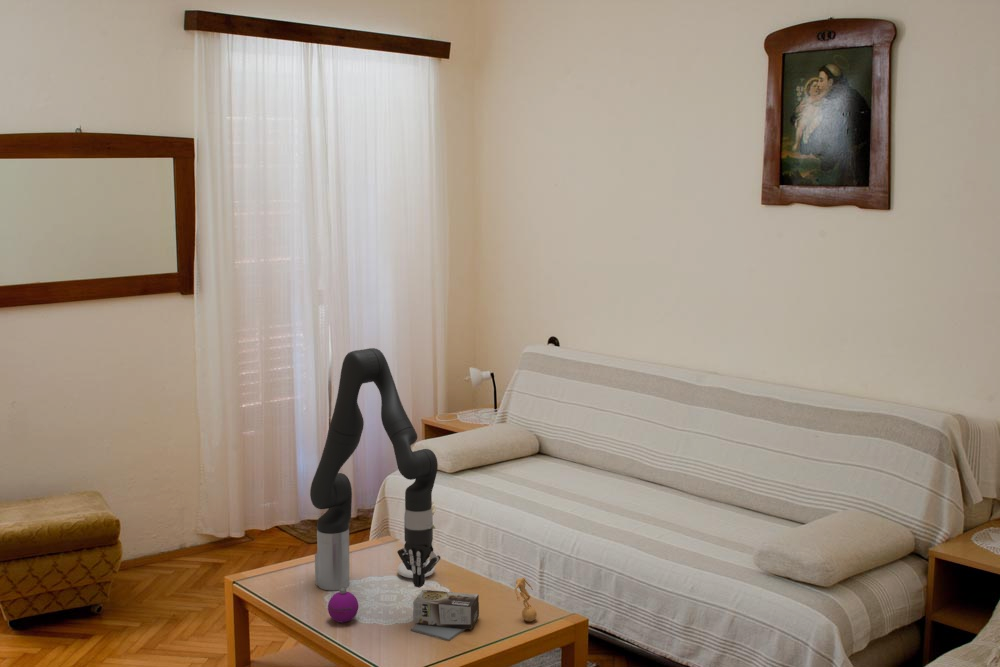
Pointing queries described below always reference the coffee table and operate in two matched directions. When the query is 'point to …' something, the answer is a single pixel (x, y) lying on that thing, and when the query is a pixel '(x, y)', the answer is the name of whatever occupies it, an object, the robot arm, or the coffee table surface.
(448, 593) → the coffee box
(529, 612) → the figurine
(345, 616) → the christmas ornament
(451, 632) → the slate mat
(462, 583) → the coffee table surface
